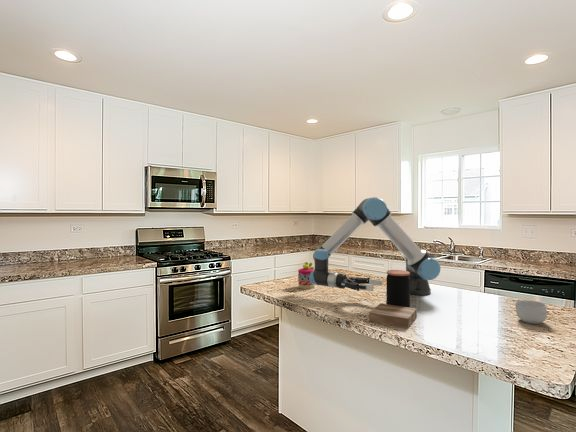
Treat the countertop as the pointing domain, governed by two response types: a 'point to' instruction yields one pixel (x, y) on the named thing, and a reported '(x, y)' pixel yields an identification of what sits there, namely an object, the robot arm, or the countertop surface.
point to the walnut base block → (393, 315)
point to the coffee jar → (398, 288)
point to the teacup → (531, 311)
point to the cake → (305, 277)
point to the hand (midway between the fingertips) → (377, 285)
